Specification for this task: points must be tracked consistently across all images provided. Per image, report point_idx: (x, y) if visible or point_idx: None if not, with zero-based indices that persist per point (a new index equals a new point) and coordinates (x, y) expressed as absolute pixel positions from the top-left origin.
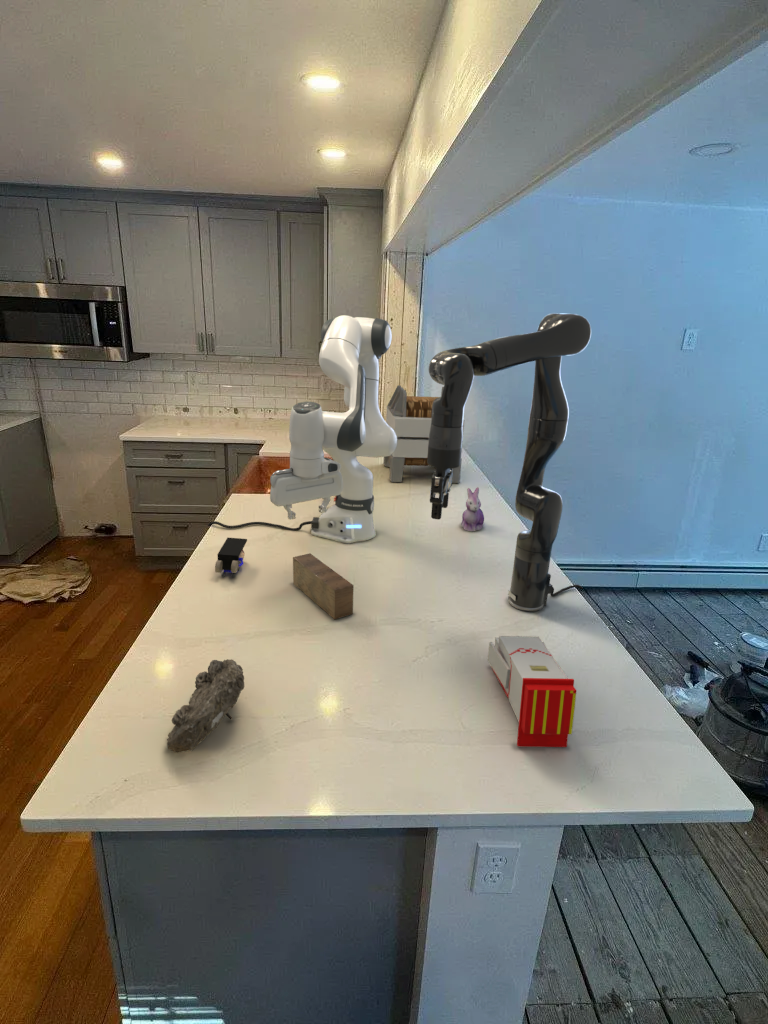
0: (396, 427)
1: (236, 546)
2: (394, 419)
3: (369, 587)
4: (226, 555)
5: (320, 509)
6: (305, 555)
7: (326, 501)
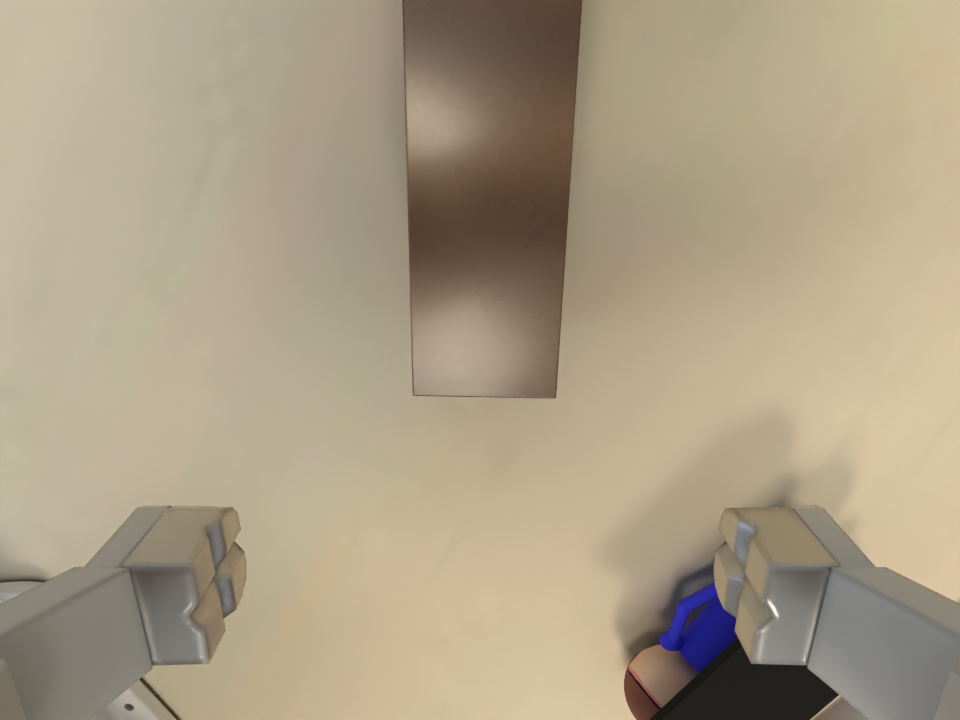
0: None
1: (720, 709)
2: None
3: (148, 35)
4: None
5: (215, 581)
6: (463, 377)
7: (9, 661)
